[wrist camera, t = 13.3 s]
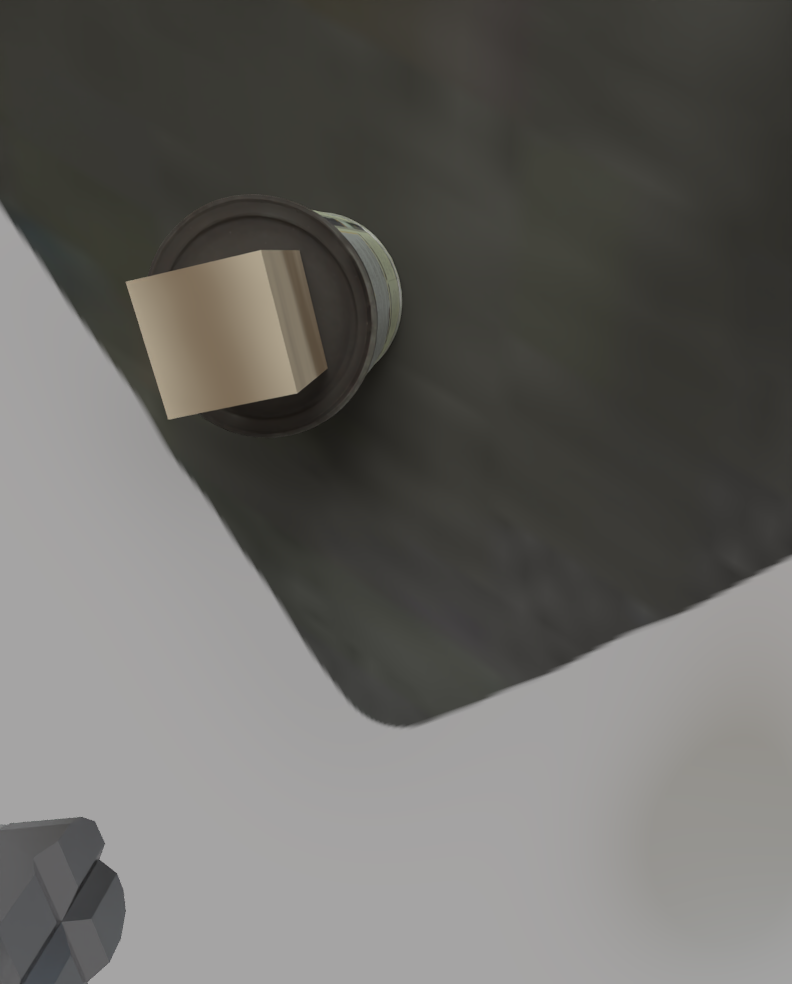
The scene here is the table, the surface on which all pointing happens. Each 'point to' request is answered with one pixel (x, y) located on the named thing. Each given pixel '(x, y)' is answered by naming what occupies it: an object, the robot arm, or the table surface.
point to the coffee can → (333, 289)
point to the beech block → (229, 331)
